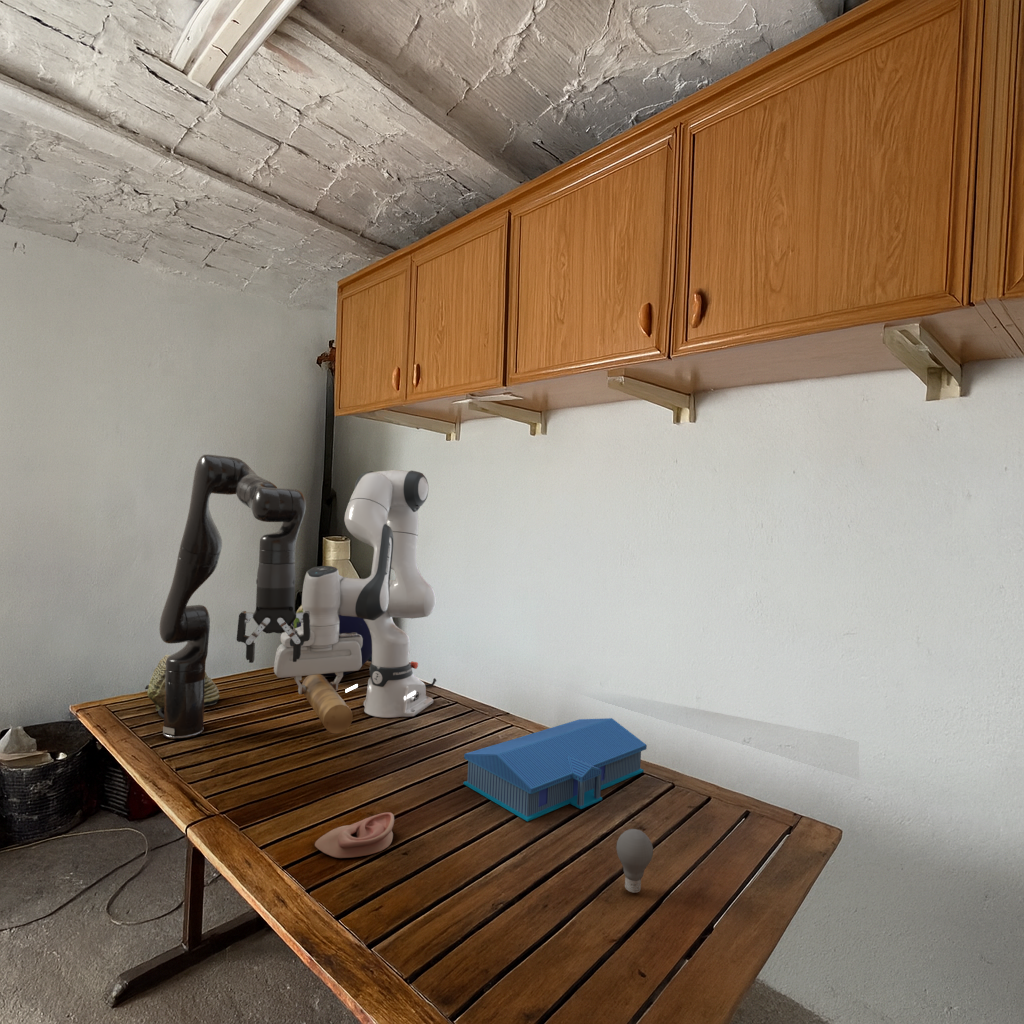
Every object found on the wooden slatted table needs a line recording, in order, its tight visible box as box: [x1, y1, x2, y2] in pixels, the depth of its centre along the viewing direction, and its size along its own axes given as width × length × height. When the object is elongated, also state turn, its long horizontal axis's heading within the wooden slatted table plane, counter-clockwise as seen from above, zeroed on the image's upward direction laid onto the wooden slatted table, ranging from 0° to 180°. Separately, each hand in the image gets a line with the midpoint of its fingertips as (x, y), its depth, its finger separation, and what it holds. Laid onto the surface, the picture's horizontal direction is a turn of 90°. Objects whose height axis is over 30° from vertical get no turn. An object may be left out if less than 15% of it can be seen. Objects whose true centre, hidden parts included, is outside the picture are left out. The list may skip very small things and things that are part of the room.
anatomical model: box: [314, 812, 395, 859], centre depth 117 cm, size 13×4×12 cm
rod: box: [301, 674, 354, 734], centre depth 145 cm, size 25×6×6 cm, turn 29°
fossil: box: [147, 654, 221, 711], centre depth 185 cm, size 9×18×15 cm, turn 132°
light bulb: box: [615, 828, 654, 894], centre depth 106 cm, size 6×6×10 cm
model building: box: [462, 717, 648, 822], centre depth 147 cm, size 39×24×10 cm, turn 132°
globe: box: [292, 604, 372, 678], centre depth 222 cm, size 30×30×30 cm
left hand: (273, 661), depth 132 cm, fingers open, 8 cm apart
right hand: (318, 691), depth 152 cm, fingers closed on rod, 6 cm apart
